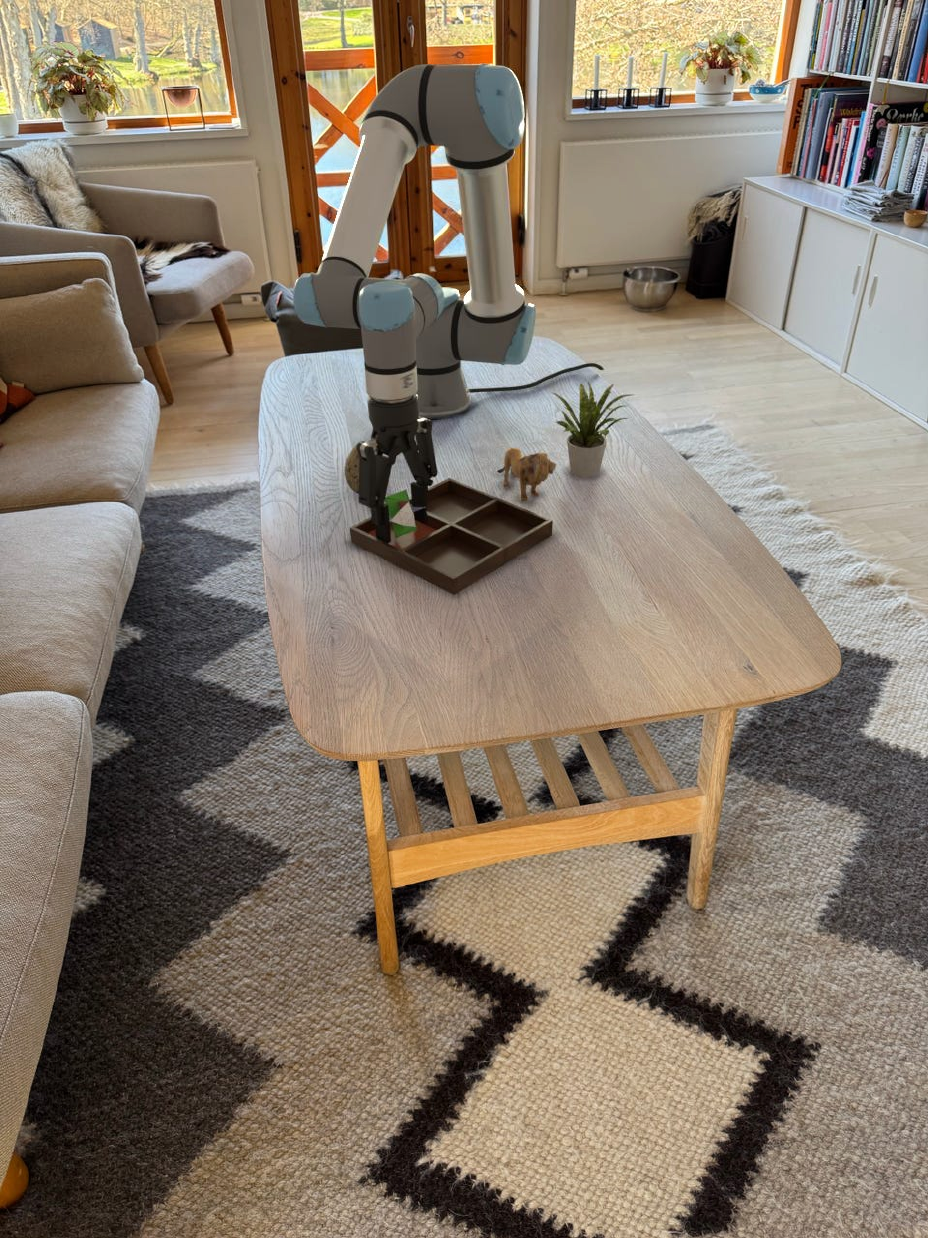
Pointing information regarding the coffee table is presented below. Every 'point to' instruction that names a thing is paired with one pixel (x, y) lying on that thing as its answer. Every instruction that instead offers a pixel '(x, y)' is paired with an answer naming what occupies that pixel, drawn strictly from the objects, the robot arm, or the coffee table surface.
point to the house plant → (588, 432)
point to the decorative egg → (353, 469)
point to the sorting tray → (458, 536)
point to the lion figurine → (527, 469)
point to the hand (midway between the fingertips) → (402, 529)
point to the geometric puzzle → (401, 513)
